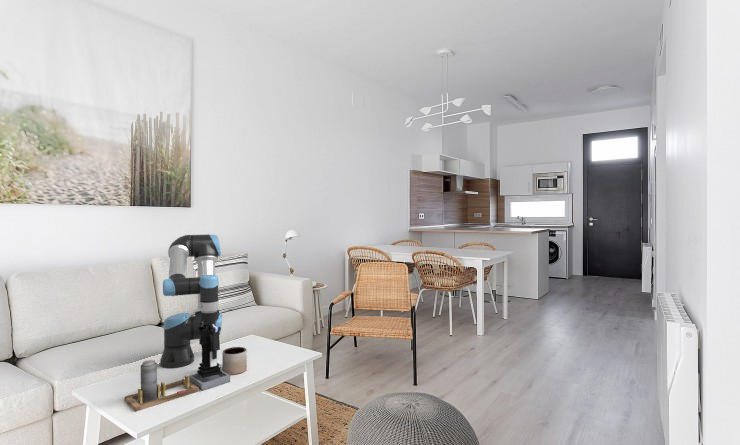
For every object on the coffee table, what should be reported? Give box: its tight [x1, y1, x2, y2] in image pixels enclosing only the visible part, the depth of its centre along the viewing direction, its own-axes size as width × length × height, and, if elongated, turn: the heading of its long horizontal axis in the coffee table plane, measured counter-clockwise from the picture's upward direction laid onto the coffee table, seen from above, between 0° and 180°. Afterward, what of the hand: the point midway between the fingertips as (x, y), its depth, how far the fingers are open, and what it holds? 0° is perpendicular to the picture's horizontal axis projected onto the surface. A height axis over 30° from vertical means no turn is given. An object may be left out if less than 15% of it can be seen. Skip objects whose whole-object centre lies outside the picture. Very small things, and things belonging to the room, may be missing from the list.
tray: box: [188, 369, 231, 392], centre depth 176 cm, size 13×13×3 cm
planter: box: [221, 346, 248, 376], centre depth 189 cm, size 11×11×10 cm
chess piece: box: [196, 326, 222, 378], centre depth 175 cm, size 8×8×20 cm
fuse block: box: [123, 359, 200, 412], centre depth 162 cm, size 13×24×15 cm, turn 137°
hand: (209, 363), depth 176 cm, fingers closed on chess piece, 7 cm apart
